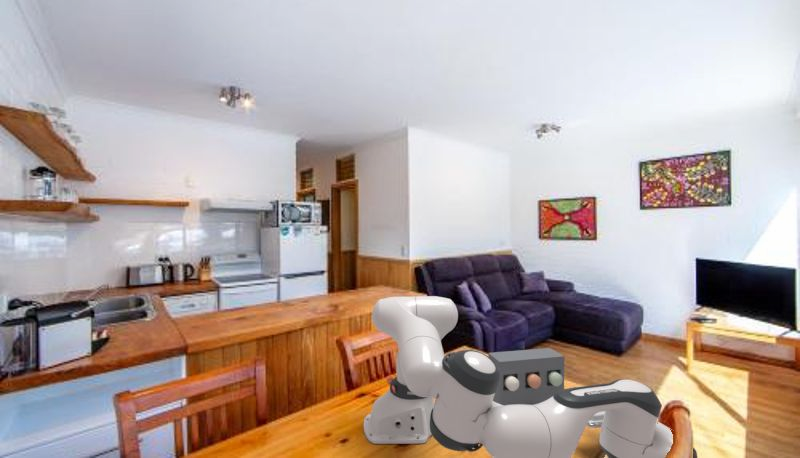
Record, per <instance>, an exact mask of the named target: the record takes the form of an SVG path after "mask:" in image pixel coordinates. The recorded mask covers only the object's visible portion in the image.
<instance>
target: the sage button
mask: <svg viewBox="0 0 800 458" xmlns="http://www.w3.org/2000/svg"><path fill="white" fill-rule="evenodd" d="M548 381H549V382H550V383H551V384H552V385H554V386H560V385H561V384H562V381H563V378H562V376H561V375H560V374H559V373H557V372H555V371H553V372H551V373H550V374H549V375H548Z"/></svg>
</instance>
